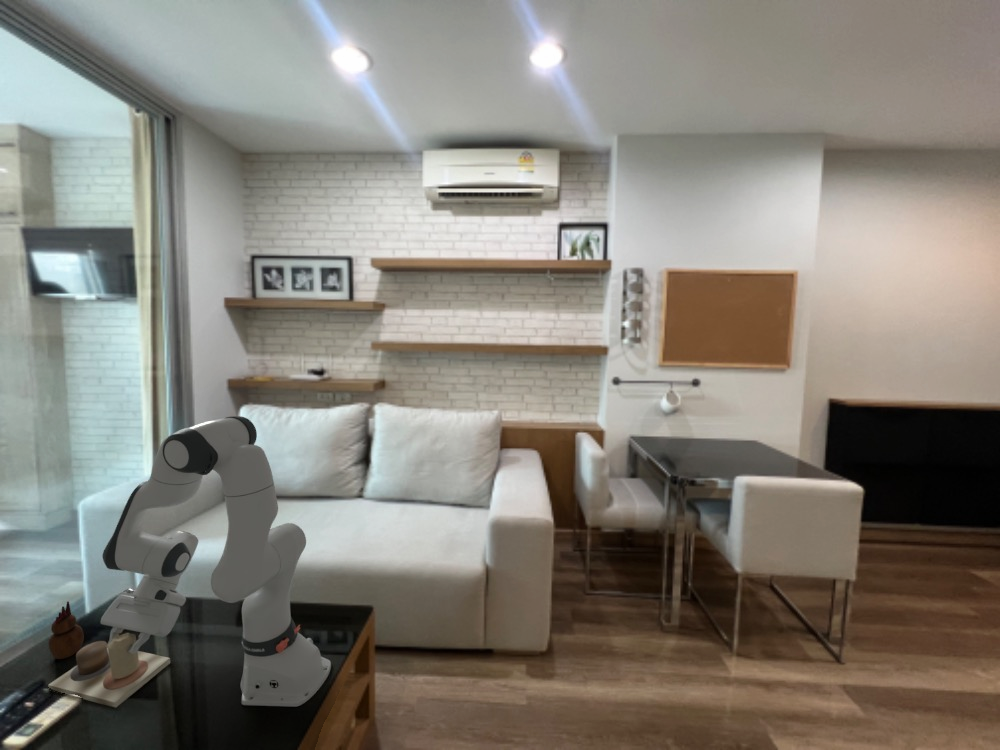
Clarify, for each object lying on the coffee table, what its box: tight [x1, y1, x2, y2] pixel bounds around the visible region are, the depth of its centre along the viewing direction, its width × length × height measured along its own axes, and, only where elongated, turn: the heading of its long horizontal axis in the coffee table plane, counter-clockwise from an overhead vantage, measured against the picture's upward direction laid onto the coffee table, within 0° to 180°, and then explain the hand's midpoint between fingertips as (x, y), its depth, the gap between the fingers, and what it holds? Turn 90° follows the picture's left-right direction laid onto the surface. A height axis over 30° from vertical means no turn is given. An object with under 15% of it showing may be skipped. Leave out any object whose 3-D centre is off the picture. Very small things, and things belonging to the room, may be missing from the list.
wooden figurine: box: [48, 601, 85, 660], centre depth 121 cm, size 7×6×15 cm
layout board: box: [47, 640, 171, 708], centre depth 114 cm, size 22×14×7 cm, turn 78°
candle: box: [108, 632, 139, 679], centre depth 112 cm, size 6×6×10 cm
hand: (120, 650), depth 112 cm, fingers closed on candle, 5 cm apart
